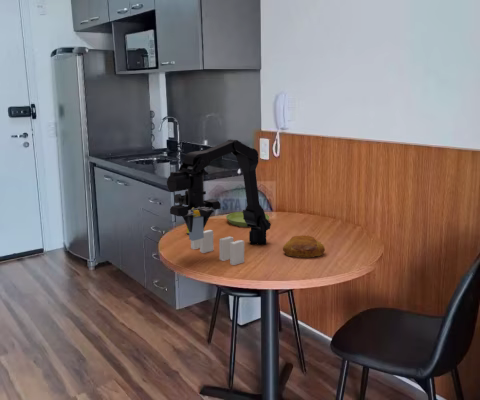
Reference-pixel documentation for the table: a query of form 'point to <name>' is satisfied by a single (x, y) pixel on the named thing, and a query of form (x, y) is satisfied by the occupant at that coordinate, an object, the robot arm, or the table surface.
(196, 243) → the domino
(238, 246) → the domino
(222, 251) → the domino
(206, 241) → the domino
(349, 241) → the table surface
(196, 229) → the domino
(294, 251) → the croissant
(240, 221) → the saucer
